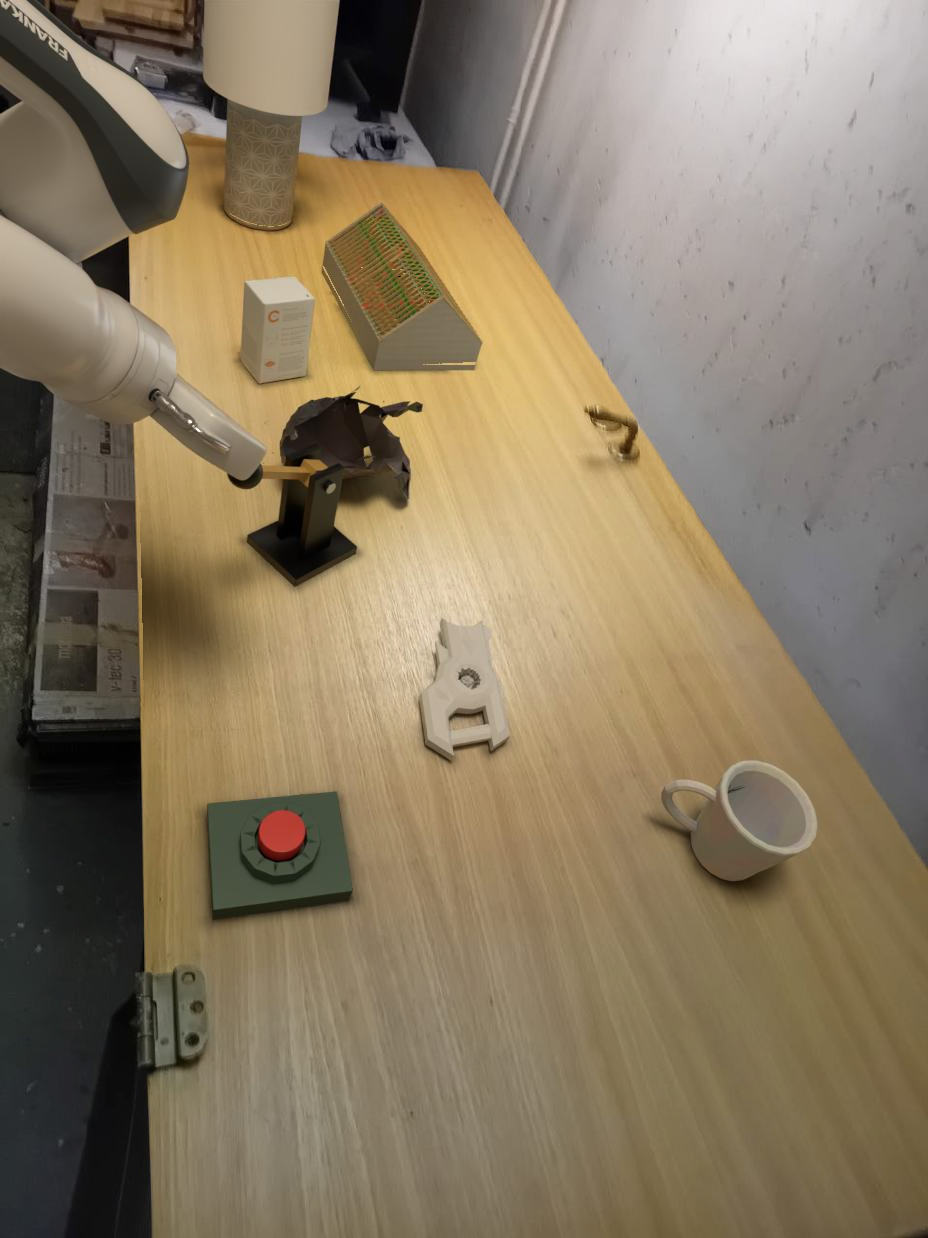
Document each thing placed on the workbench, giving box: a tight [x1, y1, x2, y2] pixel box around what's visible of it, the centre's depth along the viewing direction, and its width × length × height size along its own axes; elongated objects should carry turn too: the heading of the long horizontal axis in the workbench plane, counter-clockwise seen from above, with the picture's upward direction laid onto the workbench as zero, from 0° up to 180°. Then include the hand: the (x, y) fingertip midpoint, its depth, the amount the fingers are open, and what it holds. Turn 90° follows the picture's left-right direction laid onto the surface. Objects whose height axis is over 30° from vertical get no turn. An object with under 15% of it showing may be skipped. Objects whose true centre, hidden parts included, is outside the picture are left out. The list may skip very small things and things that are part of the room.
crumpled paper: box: [262, 385, 424, 500], centre depth 106 cm, size 14×15×20 cm
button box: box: [206, 790, 354, 920], centre depth 74 cm, size 12×10×4 cm
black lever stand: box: [246, 443, 358, 587], centre depth 97 cm, size 10×9×14 cm
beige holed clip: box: [418, 617, 511, 761], centre depth 92 cm, size 18×4×10 cm
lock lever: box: [226, 459, 328, 490], centre depth 88 cm, size 14×4×4 cm, turn 138°
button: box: [258, 810, 305, 861], centre depth 72 cm, size 4×4×2 cm
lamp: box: [202, 0, 340, 232], centre depth 140 cm, size 21×21×42 cm
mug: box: [660, 759, 819, 882], centre depth 85 cm, size 10×15×10 cm
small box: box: [240, 275, 316, 385], centre depth 120 cm, size 8×6×13 cm
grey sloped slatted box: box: [321, 201, 484, 372], centre depth 138 cm, size 30×19×13 cm, turn 22°
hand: (217, 425), depth 77 cm, fingers closed
